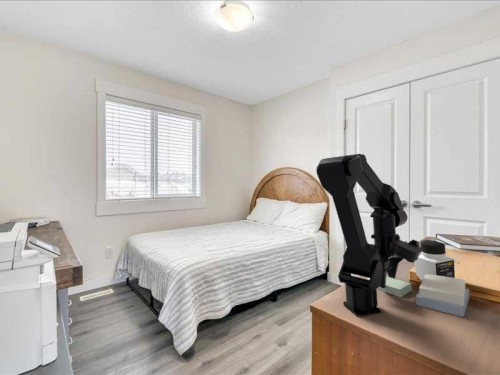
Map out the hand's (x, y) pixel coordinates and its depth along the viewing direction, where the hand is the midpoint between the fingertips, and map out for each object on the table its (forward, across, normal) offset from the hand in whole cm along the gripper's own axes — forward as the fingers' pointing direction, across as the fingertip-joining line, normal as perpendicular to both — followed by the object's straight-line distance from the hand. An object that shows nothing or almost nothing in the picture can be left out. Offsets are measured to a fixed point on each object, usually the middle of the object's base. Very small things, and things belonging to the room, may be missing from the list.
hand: (387, 284), depth 73 cm
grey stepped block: (+1, 0, -13) cm, 13 cm away
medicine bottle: (+1, +14, -8) cm, 16 cm away
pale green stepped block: (+2, 0, 0) cm, 2 cm away
